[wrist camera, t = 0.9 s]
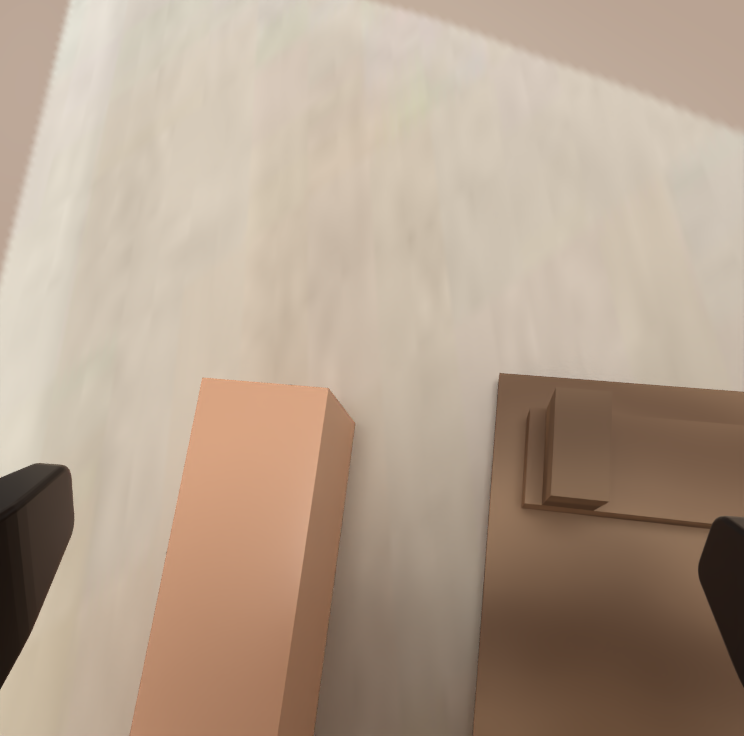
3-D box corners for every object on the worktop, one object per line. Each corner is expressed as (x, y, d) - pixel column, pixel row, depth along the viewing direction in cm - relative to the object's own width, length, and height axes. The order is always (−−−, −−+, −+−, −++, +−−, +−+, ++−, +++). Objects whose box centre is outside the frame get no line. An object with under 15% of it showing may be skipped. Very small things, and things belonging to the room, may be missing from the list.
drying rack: (931, 1102, 17) (1111, 1309, 12) (454, 989, 19) (447, 1126, 14) (869, 410, 22) (978, 364, 17) (498, 381, 24) (505, 333, 19)
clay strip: (287, 943, 20) (230, 1057, 15) (164, 914, 21) (72, 1014, 16) (356, 424, 24) (328, 388, 20) (253, 414, 25) (202, 377, 20)
